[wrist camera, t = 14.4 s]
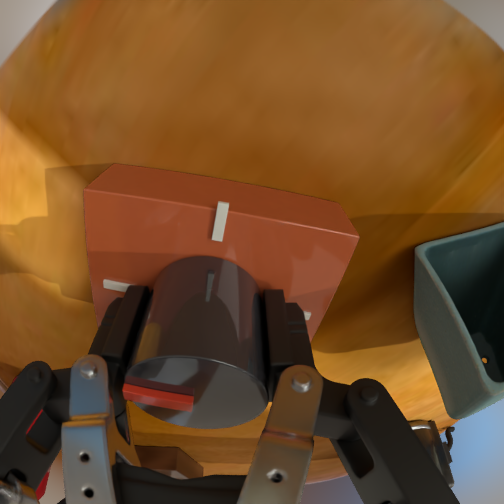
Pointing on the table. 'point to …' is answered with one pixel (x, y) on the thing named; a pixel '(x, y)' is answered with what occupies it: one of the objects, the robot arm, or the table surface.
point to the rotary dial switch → (213, 234)
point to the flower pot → (463, 316)
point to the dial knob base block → (169, 462)
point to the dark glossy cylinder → (200, 347)
